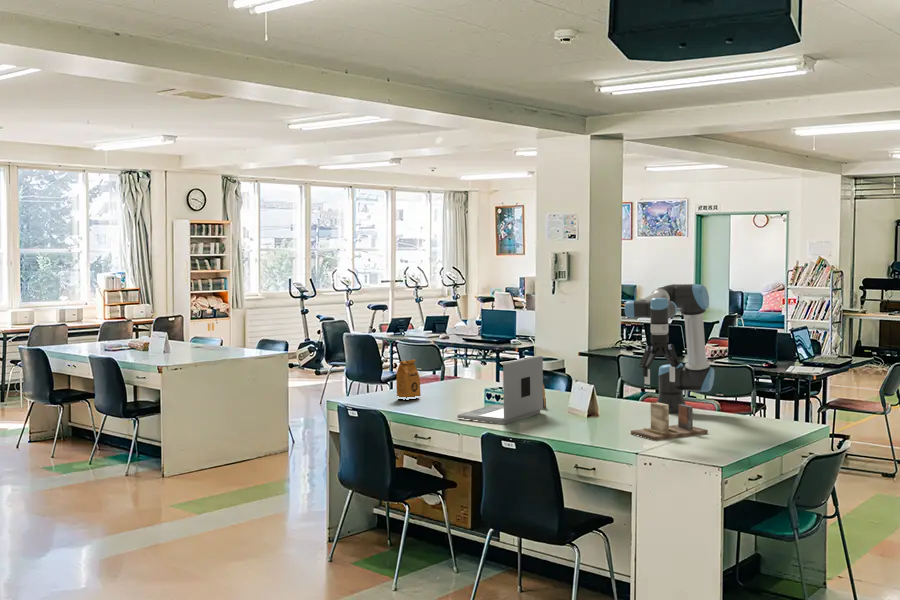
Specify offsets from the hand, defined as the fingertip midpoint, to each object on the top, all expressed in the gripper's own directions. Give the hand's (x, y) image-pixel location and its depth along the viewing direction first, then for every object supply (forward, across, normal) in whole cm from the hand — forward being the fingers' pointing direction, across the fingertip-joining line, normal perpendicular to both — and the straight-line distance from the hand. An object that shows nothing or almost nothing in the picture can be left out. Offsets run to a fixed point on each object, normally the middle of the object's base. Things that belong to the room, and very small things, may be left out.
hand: (659, 383), depth 386 cm
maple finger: (+21, 0, 0) cm, 21 cm away
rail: (+23, +5, 0) cm, 23 cm away
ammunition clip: (+23, -7, +89) cm, 92 cm away
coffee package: (+23, -55, +146) cm, 157 cm away
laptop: (+23, -36, +75) cm, 87 cm away
